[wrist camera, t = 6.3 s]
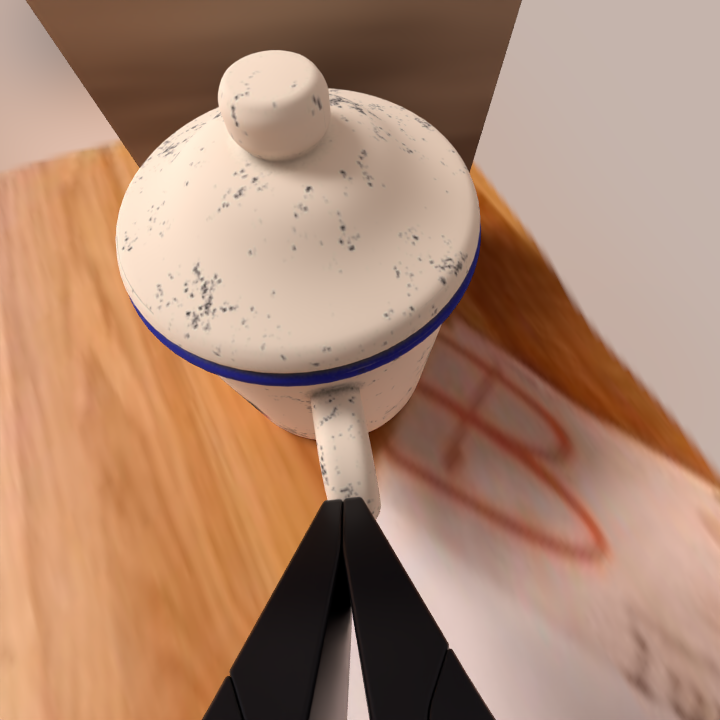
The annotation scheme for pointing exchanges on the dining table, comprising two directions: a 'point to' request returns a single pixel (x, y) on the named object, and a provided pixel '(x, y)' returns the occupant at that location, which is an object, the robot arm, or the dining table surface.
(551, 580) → the dining table surface
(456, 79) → the bookend
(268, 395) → the teacup with lid
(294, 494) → the dining table surface
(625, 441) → the dining table surface
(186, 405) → the dining table surface
